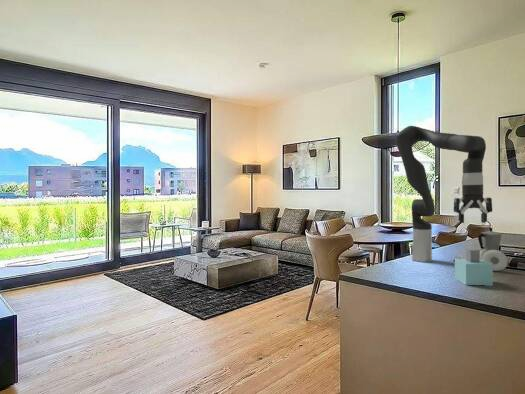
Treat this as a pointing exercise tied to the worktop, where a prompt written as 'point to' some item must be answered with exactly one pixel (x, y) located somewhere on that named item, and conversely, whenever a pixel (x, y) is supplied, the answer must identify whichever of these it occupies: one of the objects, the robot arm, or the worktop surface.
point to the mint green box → (474, 269)
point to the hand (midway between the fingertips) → (472, 222)
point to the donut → (497, 254)
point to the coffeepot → (490, 243)
